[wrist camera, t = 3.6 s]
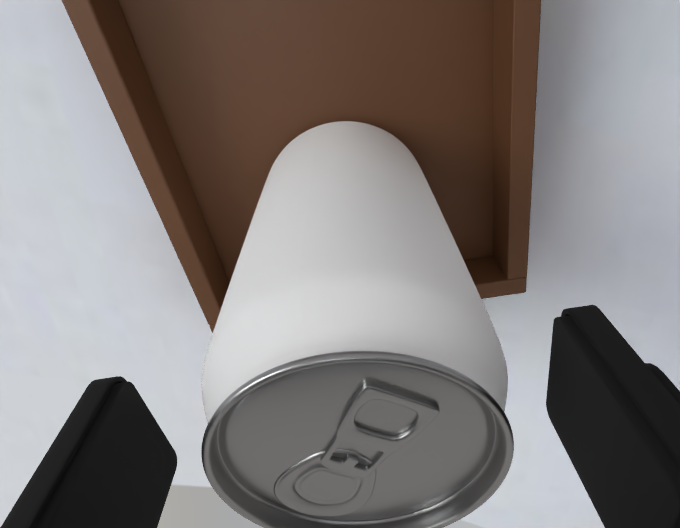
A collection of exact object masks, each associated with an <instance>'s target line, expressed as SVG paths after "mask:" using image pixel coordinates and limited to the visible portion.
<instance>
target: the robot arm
mask: <svg viewBox="0 0 680 528" xmlns="http://www.w3.org/2000/svg"><path fill="white" fill-rule="evenodd" d="M546 406H547V411H548V415H549V418H550V420H551V422H552V424H553V426H554V428H555V430H556V432H557V434H558V436H559V438H560V440H561V442H562V444H563V446H564V448H565V450H566V452H567V454H568V455H569V457H570V459H571V461H572V463H573V465H574V467H575V469H576V471H577V473H578V475H579V477H580V479H581V481H582V483H583V485H584V487H585V489H586V491H587V493H588V495H589V497H590V499H591V501H592V503H593V505H594V507H595V509H596V511H597V513H598V515H599V517H600V519H601V521H602V522H603V524H604V526H605V528H680V391H679V390H678V389H677V388H676V387H675V385H674V384H673V383H672V382H671V381H670V380H669V378H668V377H667V376H666V375H665V374H664V373H663V372H662V371H661V370H660V369H659V368H658V367H657V366H655V365H653V364H651V363H644V362H643V361H642V359H641V358H640V357H639V356H638V355H637V353H636V352H635V351H634V350H633V349H632V347H631V346H630V345H629V344H628V343H627V341H626V340H625V339H624V338H623V337H622V335H621V334H620V333H619V332H618V331H617V330H616V328H615V327H614V326H613V325H612V324H611V322H610V321H609V320H608V319H607V318H606V316H605V315H604V314H603V313H602V312H601V310H600V309H599V308H598V307H597V306H595V305H588V306H582V307H575V308H569V309H564V310H563V312H562V315H561V317H557V318H555V319H554V324H553V334H552V345H551V356H550V367H549V378H548V389H547V399H546ZM176 467H177V456H176V453H175V451H174V449H173V448H172V446H171V444H170V443H169V441H168V440H167V438H166V436H165V435H164V433H163V432H162V430H161V428H160V427H159V425H158V424H157V422H156V420H155V419H154V417H153V415H152V414H151V412H150V411H149V409H148V407H147V406H146V404H145V403H144V401H143V399H142V398H141V396H140V395H139V393H138V391H137V390H136V388H135V387H134V385H133V384H132V383H131V382H127V381H126V380H125V379H124V378H123V377H121V376H120V377H111V378H105V379H98V380H94V381H92V382H91V383H90V384H89V385H88V387H87V388H86V390H85V392H84V393H83V395H82V397H81V398H80V400H79V401H78V403H77V405H76V406H75V408H74V410H73V411H72V413H71V414H70V416H69V418H68V419H67V421H66V422H65V424H64V426H63V427H62V429H61V431H60V432H59V434H58V435H57V437H56V439H55V440H54V442H53V444H52V445H51V447H50V448H49V450H48V452H47V453H46V455H45V457H44V458H43V460H42V461H41V463H40V465H39V466H38V468H37V469H36V471H35V473H34V474H33V476H32V478H31V479H30V481H29V482H28V484H27V486H26V487H25V489H24V491H23V492H22V494H21V495H20V497H19V499H18V500H17V502H16V504H15V505H14V507H13V508H12V510H11V512H10V513H9V515H8V517H7V518H6V520H5V521H4V523H3V525H2V526H1V528H157V526H158V523H159V520H160V517H161V513H162V511H163V507H164V504H165V501H166V498H167V495H168V492H169V489H170V486H171V483H172V480H173V477H174V474H175V471H176Z"/></svg>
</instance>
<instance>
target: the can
mask: <svg viewBox="0 0 680 528" xmlns="http://www.w3.org/2000/svg"><path fill="white" fill-rule="evenodd" d="M507 388H508V375H507V366H506V361H505V358H504V354H503V351H502V347H501V344H500V342H499V339H498V337H497V334H496V332H495V329H494V327H493V325H492V322H491V320H490V318H489V315H488V313H487V311H486V309H485V306H484V304H483V302H482V300H481V297H480V295H479V293H478V291H477V288H476V286H475V284H474V282H473V280H472V277H471V275H470V273H469V271H468V269H467V267H466V264H465V262H464V260H463V258H462V256H461V253H460V251H459V249H458V247H457V245H456V243H455V240H454V238H453V236H452V234H451V232H450V230H449V227H448V225H447V223H446V221H445V219H444V217H443V214H442V212H441V210H440V208H439V206H438V204H437V202H436V199H435V197H434V195H433V193H432V191H431V189H430V187H429V185H428V182H427V180H426V178H425V176H424V174H423V172H422V170H421V168H420V166H419V164H418V162H417V161H416V159H415V157H414V156H413V155H412V153H411V152H410V151H409V149H408V148H407V147H406V146H405V145H404V144H403V143H402V142H401V141H400V140H398V139H397V138H396V137H395V136H393V135H392V134H390V133H388V132H387V131H385V130H383V129H381V128H378V127H376V126H373V125H370V124H366V123H361V122H353V121H339V122H331V123H326V124H322V125H319V126H316V127H314V128H311V129H309V130H307V131H305V132H304V133H302V134H300V135H299V136H297V137H296V138H295V139H293V140H292V141H291V142H290V143H289V144H288V145H287V146H286V147H285V148H284V149H283V150H282V151H281V153H280V154H279V155H278V157H277V158H276V160H275V162H274V164H273V165H272V168H271V170H270V172H269V174H268V177H267V180H266V182H265V185H264V188H263V190H262V193H261V196H260V199H259V201H258V204H257V207H256V210H255V213H254V215H253V218H252V221H251V224H250V227H249V229H248V232H247V235H246V238H245V241H244V244H243V247H242V249H241V252H240V255H239V258H238V261H237V264H236V266H235V269H234V272H233V275H232V278H231V281H230V284H229V287H228V290H227V292H226V295H225V298H224V301H223V304H222V307H221V310H220V313H219V316H218V319H217V322H216V325H215V328H214V331H213V334H212V337H211V340H210V344H209V347H208V350H207V354H206V358H205V362H204V367H203V373H202V398H203V404H204V409H205V414H206V418H207V421H208V425H207V428H206V430H205V433H204V437H203V442H202V463H203V467H204V471H205V474H206V476H207V478H208V480H209V482H210V484H211V486H212V487H213V489H214V490H215V492H216V493H217V494H218V495H219V497H220V498H221V499H222V500H223V501H224V502H225V503H226V504H228V506H230V507H231V508H232V509H233V510H234V511H236V512H237V513H239V514H240V515H242V516H243V517H245V518H247V519H248V520H250V521H252V522H254V523H255V524H258V525H260V526H262V527H264V528H442V527H445V526H447V525H450V524H452V523H454V522H456V521H458V520H460V519H461V518H463V517H465V516H466V515H468V514H470V513H471V512H473V511H474V510H475V509H477V508H478V507H480V506H481V505H482V504H483V503H484V502H486V501H487V500H488V499H489V498H490V497H491V496H492V495H493V494H494V493H495V491H496V490H497V489H498V488H499V486H500V485H501V483H502V482H503V480H504V479H505V477H506V475H507V473H508V471H509V468H510V466H511V462H512V458H513V451H514V441H513V433H512V429H511V426H510V423H509V421H508V419H507V417H506V415H505V413H504V411H505V405H506V398H507Z"/></svg>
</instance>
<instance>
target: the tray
mask: <svg viewBox="0 0 680 528" xmlns="http://www.w3.org/2000/svg"><path fill="white" fill-rule="evenodd" d="M62 2H63V4H64V6H65V8H66V10H67V13H68V15H69V17H70V19H71V21H72V24H73V26H74V28H75V30H76V33H77V35H78V37H79V39H80V41H81V44H82V46H83V48H84V50H85V52H86V55H87V57H88V59H89V61H90V63H91V66H92V68H93V70H94V72H95V74H96V77H97V79H98V81H99V83H100V85H101V88H102V90H103V92H104V94H105V97H106V99H107V101H108V103H109V105H110V108H111V110H112V112H113V114H114V116H115V119H116V121H117V123H118V125H119V127H120V130H121V132H122V134H123V136H124V138H125V141H126V143H127V145H128V147H129V149H130V152H131V154H132V156H133V158H134V161H135V163H136V165H137V167H138V169H139V172H140V174H141V176H142V178H143V180H144V183H145V185H146V187H147V189H148V191H149V194H150V196H151V198H152V200H153V202H154V205H155V207H156V209H157V211H158V213H159V216H160V218H161V220H162V222H163V225H164V227H165V229H166V231H167V233H168V236H169V238H170V240H171V242H172V244H173V247H174V249H175V251H176V253H177V255H178V258H179V260H180V262H181V264H182V266H183V269H184V271H185V273H186V275H187V278H188V280H189V282H190V284H191V286H192V289H193V291H194V293H195V295H196V297H197V300H198V302H199V304H200V306H201V308H202V311H203V313H204V315H205V317H206V319H207V322H208V324H209V325H210V329H211V331H212V333H213V331H214V328H215V325H216V322H217V319H218V316H219V313H220V310H221V307H222V304H223V301H224V298H225V295H226V292H227V290H228V287H229V284H230V281H231V278H232V275H233V272H234V269H235V266H236V264H237V261H238V258H239V255H240V252H241V249H242V247H243V244H244V241H245V238H246V235H247V232H248V229H249V227H250V224H251V221H252V218H253V215H254V213H255V210H256V207H257V204H258V201H259V199H260V196H261V193H262V190H263V188H264V185H265V182H266V180H267V177H268V174H269V172H270V170H271V168H272V165H273V164H274V162H275V160H276V158H277V157H278V155H279V154H280V153H281V151H282V150H283V149H284V148H285V147H286V146H287V145H288V144H289V143H290V142H291V141H292V140H293V139H295V138H296V137H297V136H299V135H300V134H302V133H304V132H305V131H307V130H309V129H311V128H314V127H316V126H319V125H322V124H326V123H331V122H339V121H353V122H361V123H366V124H370V125H373V126H376V127H378V128H381V129H383V130H385V131H387V132H388V133H390V134H392V135H393V136H395V137H396V138H397V139H398V140H400V141H401V142H402V143H403V144H404V145H405V146H406V147H407V148H408V149H409V151H410V152H411V153H412V155H413V156H414V157H415V159H416V161H417V162H418V164H419V166H420V168H421V170H422V172H423V174H424V176H425V178H426V180H427V182H428V185H429V187H430V189H431V191H432V193H433V195H434V197H435V199H436V202H437V204H438V206H439V208H440V210H441V212H442V214H443V217H444V219H445V221H446V223H447V225H448V227H449V230H450V232H451V234H452V236H453V238H454V240H455V243H456V245H457V247H458V249H459V251H460V253H461V256H462V258H463V260H464V262H465V264H466V267H467V269H468V271H469V273H470V275H471V277H472V280H473V282H474V284H475V286H476V288H477V291H478V293H479V295H480V297H481V299H484V298H490V297H497V296H504V295H510V294H517V293H524V292H526V280H527V278H526V277H527V265H528V245H529V226H530V207H531V187H532V168H533V149H534V129H535V110H536V91H537V71H538V52H539V33H540V13H541V0H62Z"/></svg>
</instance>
